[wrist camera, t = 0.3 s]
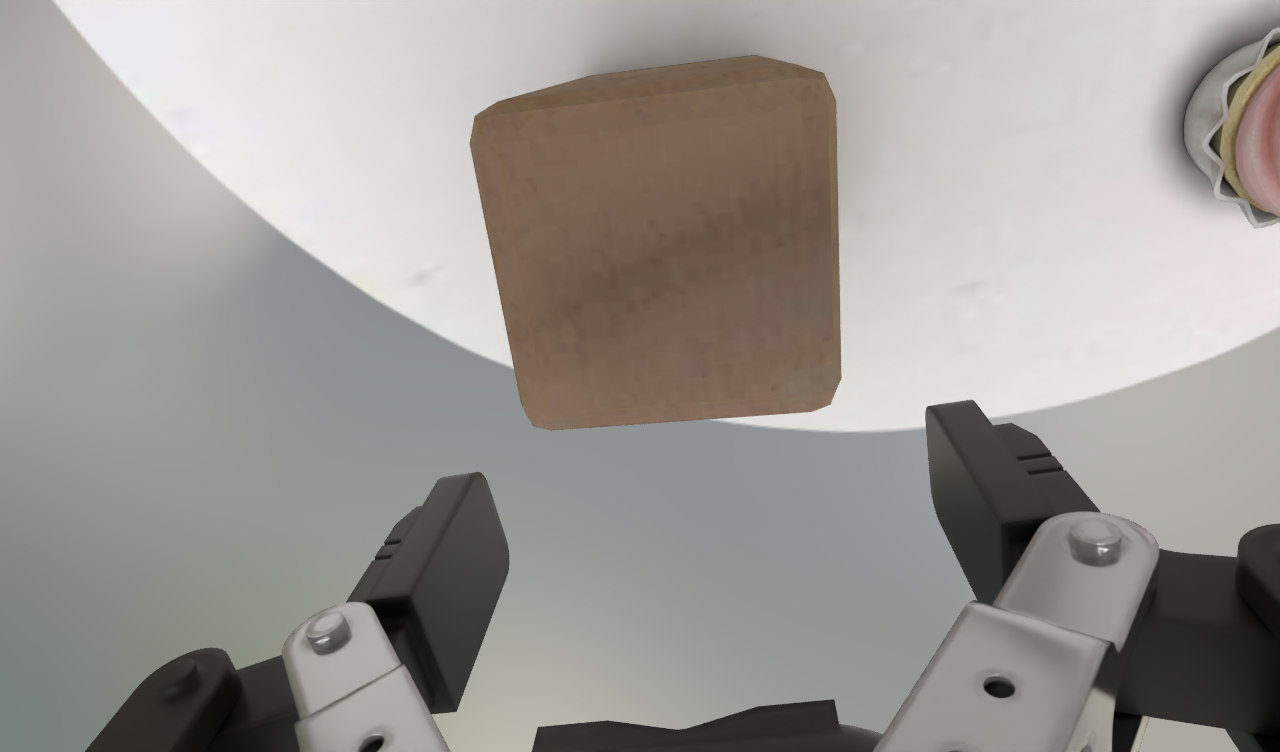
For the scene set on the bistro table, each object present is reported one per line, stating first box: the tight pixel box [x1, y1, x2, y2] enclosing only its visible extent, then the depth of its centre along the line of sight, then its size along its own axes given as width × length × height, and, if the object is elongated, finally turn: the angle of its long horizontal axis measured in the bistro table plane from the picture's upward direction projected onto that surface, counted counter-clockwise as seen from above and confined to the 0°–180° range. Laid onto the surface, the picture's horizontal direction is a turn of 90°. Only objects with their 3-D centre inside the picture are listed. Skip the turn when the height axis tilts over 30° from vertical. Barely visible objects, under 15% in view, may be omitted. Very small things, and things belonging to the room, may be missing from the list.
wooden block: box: [470, 55, 841, 430], centre depth 31 cm, size 10×10×20 cm
